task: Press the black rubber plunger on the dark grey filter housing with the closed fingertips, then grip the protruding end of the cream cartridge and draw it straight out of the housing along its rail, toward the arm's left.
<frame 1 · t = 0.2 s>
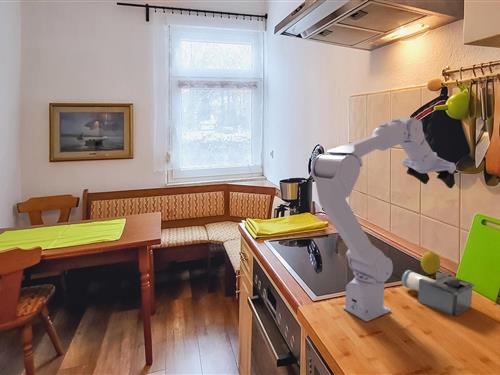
hand: (439, 183, 96), 31 cm above the worktop, tool tilted 45°, fingers open, 7 cm apart
cartridge: (423, 284, 94), point 3 cm above the worktop, slide at 0.0 cm
lemon: (429, 275, 108), on the worktop
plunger: (453, 282, 86), point 7 cm above the worktop, slide at 0.0 cm
housing: (443, 303, 89), on the worktop
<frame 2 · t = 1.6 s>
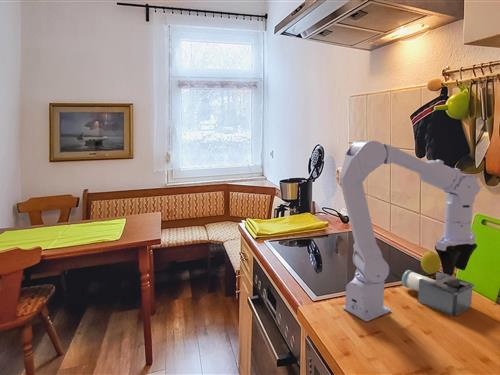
hand: (454, 271, 86), 10 cm above the worktop, tool pointing down, fingers open, 5 cm apart
nothing on the worktop moved.
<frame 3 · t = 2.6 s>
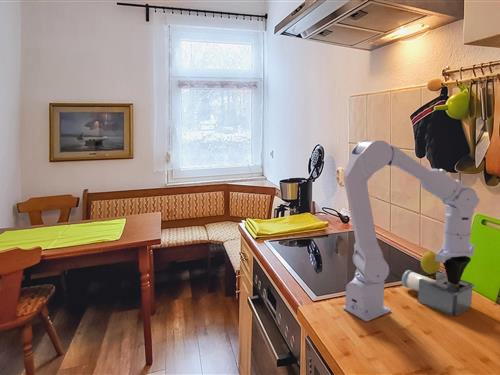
hand: (453, 282, 86), 7 cm above the worktop, tool pointing down, fingers closed, pressing on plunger
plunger: (453, 285, 86), point 6 cm above the worktop, slide at 0.9 cm, touching gripper
everything else where it was.
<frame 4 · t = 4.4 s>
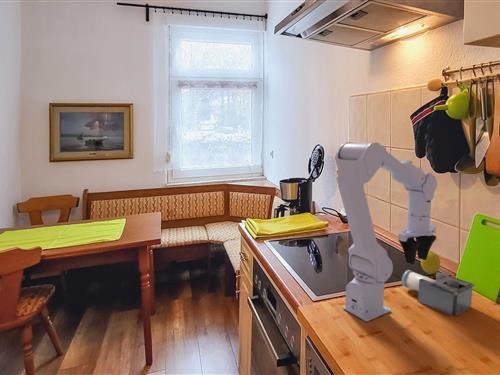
hand: (416, 260, 95), 9 cm above the worktop, tool pointing down, fingers open, 5 cm apart
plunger: (453, 285, 86), point 6 cm above the worktop, slide at 0.9 cm
everything else where it was.
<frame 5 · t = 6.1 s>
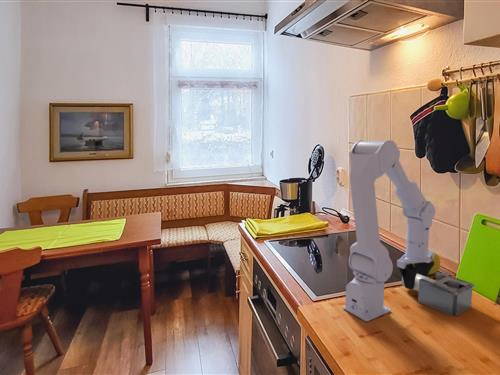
hand: (414, 286, 96), 2 cm above the worktop, tool pointing down, fingers closed on cartridge, 5 cm apart
cartridge: (423, 284, 94), point 3 cm above the worktop, slide at 0.0 cm, touching gripper
everything else where it was.
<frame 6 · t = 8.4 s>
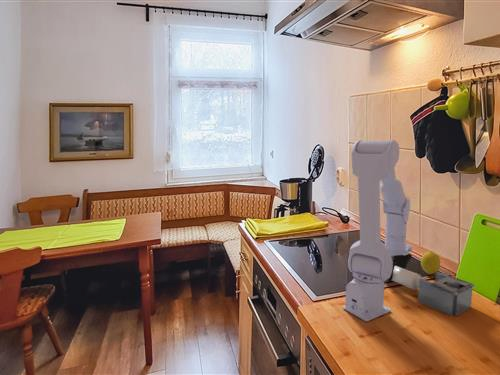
hand: (393, 277, 102), 2 cm above the worktop, tool pointing down, fingers closed on cartridge, 5 cm apart
cartridge: (401, 275, 100), point 3 cm above the worktop, slide at 7.0 cm, touching gripper
everything else where it was.
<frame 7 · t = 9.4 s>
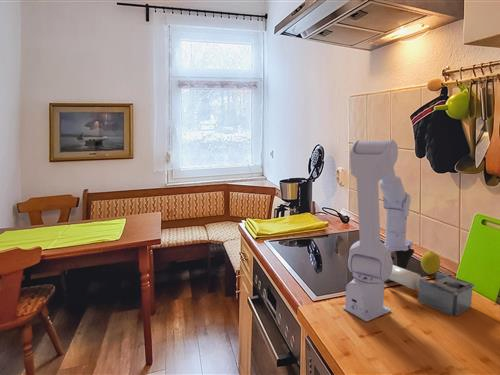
hand: (393, 273, 102), 3 cm above the worktop, tool pointing down, fingers open, 7 cm apart
cartridge: (400, 275, 100), point 3 cm above the worktop, slide at 7.0 cm
everything else where it was.
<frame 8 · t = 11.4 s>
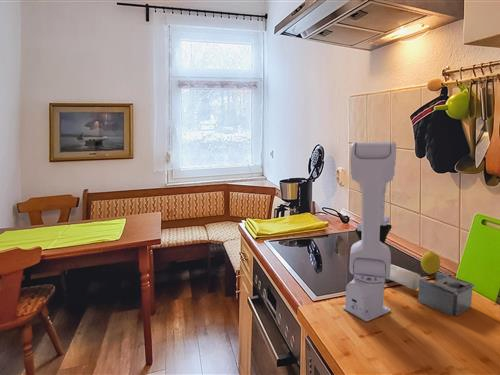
hand: (373, 249, 104), 10 cm above the worktop, tool pointing down, fingers open, 7 cm apart
nothing on the worktop moved.
at the end: cartridge slide at 7.0 cm; the gripper is holding nothing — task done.
